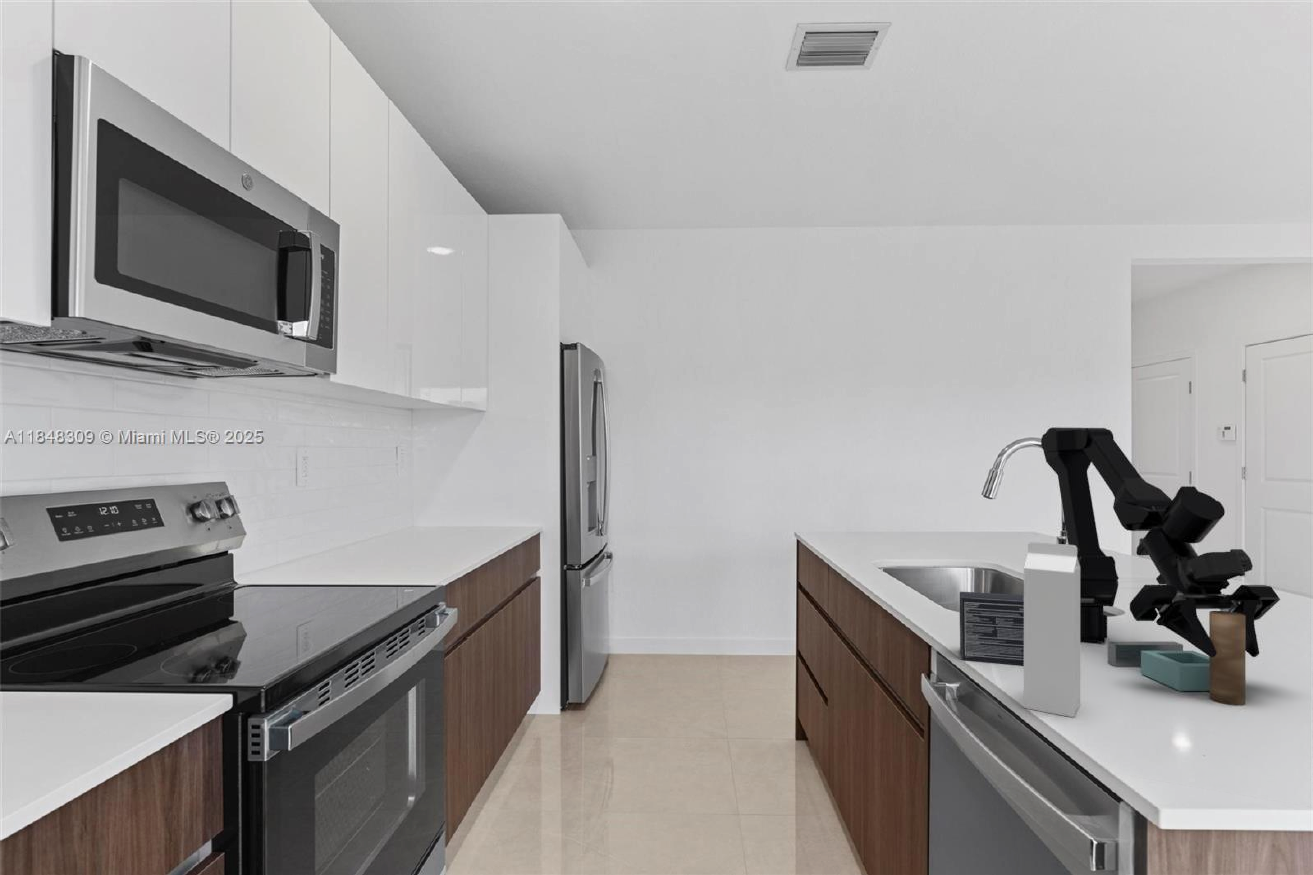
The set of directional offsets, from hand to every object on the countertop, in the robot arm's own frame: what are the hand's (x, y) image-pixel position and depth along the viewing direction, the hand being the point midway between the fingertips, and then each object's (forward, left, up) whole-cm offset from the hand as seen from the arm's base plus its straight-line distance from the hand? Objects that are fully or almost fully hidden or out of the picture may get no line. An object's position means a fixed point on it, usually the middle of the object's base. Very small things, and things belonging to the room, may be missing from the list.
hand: (1235, 655), depth 103 cm
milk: (-23, -13, -7) cm, 27 cm away
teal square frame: (-4, +8, -7) cm, 11 cm away
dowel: (-1, +1, -7) cm, 7 cm away
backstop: (-9, +16, -7) cm, 19 cm away
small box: (-31, +9, -7) cm, 33 cm away
